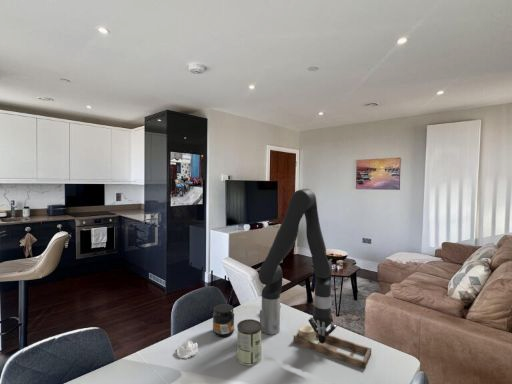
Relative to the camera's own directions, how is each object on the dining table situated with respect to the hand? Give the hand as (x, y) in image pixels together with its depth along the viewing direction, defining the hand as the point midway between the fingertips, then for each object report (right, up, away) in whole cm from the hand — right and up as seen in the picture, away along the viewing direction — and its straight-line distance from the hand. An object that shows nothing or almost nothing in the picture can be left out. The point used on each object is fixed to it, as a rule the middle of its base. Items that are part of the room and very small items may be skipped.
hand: (322, 342), depth 123 cm
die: (-20, -1, +33) cm, 38 cm away
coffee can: (-32, -3, -7) cm, 33 cm away
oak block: (-6, -1, +4) cm, 7 cm away
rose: (-59, -3, -3) cm, 60 cm away
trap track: (+3, -3, -2) cm, 5 cm away
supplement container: (-46, -2, +13) cm, 47 cm away
